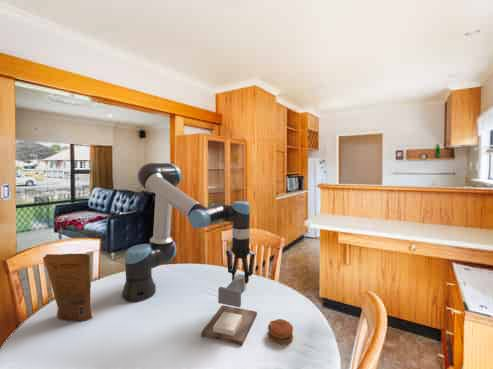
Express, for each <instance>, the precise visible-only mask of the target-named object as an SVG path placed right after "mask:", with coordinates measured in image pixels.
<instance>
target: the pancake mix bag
mask: <svg viewBox="0 0 493 369" xmlns="http://www.w3.org/2000/svg"><path fill="white" fill-rule="evenodd" d="M42 259H43V260H42V261H43V264H44V266H45V268H46V273H47V276H48V279H49V281H50V285H51V289H52V292H53V296H54V300H55V304H56V307H57V313H56V316H57V318H56V319H57V320H60V321H70V322H79V323H81V322H86V321H89V320H91V319H93V316H92V308H91V299H92V298H91V288H92V286H91V285H92V283H91V255H90V254H87V253H61V254H60V253H59V254H58V253H57V254H54V253H53V254H51V253H50V254H49V253H47V254H45V255H44V256H43V257H42Z"/></svg>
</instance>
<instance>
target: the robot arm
mask: <svg viewBox="0 0 493 369" xmlns="http://www.w3.org/2000/svg"><path fill="white" fill-rule="evenodd" d="M137 179H138V180H137V181H138V183H139V185H140V186H141V187H142V188H143V189H145V191H147V192H148V193H153V194H155V198H154V199H155V202H154V216H153V230H152V231H153V232H152V233H153V234H152V235H153V236H152V237H151V238H149V244H148V243H141V244H135V245H133V246H130V247H129V248H128V249H127V250H126V251H125V254H124V263H125V265H124V266H125V282H124V286H123V290H122V292H121V294H122V300H124V301H126V302H132V303H133V302H140V301H142V302H143V301H144V300H147V299H149V298H151V297H153V296H154V295H155V294H156V291H157V290H156V288H157V287H156V284H155V282H154V279H153V276H152V274H153V273H152V272H153V271H152V269H154V268H157V267H159V266H162V265H164V264H167V263H169V262H170V261H172V260H173V259H174V258H175V256H176V254H177V251H178V250H177V245H176V242H175V241H174V240H173V237H172V236H171V226H172V216H173V215H172V213H173V208H174V209H176V210H177V211H179V213H181V214H183V215H184V216H186V217H187V218H188V223H189V224H190V226H191V227H192V228H193V229H196V230H198V229H200V230H201V229H204V228H207V227H210V226H212V225H216V224H218V223H222V222H224V223H225V222H226V223H232V225H231V226H232V229H231V230H232V233H231V234H232V235H231V236H232V238H231V239H232V240H231V241H232V242H231V243H232V244H231V248H229V249H227V250H226V251H225V254H226V258H227V273H230V274H231V282H232V281H233V280H234V279H235V277H236V276H237V275H238V274H239V273H238V272H237V269H238V265H239V264H238V263H239V259H241V261H242V266H243V272H244V274H243V275H244V276H243V293H244V292H246V290H247V285H248V283H249V281H250V280H249V279H250V277H251V276H252V275H253V274H254V265H255V257H256V255H257V253H256V252H255V251H254V252H253V251H252V250H251V248H250V234H251V233H250V232H251V231H250V230H251V228H250V224H251V223H250V222H251V220H250V219H251V218H250V217H251V216H250V215H251V208H250V207H251V205H250V203H249V201H244V200H241V201H240V200H237V201H236V200H235V201H234V202H232V205H231V204H224V203H223V204H222V203H212V204H210V206H208V207H207V206H205V205H203V204H202V203H199V201H197V200H196V199H194V198H192V197H191V196H189V195H188V194H186V193H185V192H184V191H182V190H181V189H179V188H178V187H177V186H179V184H181V181H182V179H183V176H182V171H181V169H180V168H179V166H177V164H174V163H169V162H168V163H165V162H164V163H163V162H161V163H160V162H159V163H158V162H157V163H156V162H155V163H154V162H151V163H146V164H144V165H142V166H141V167H140V168H139V169H138V173H137ZM232 254H233V255H232ZM248 255H249V263H248ZM232 256H233V257H232Z"/></svg>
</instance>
